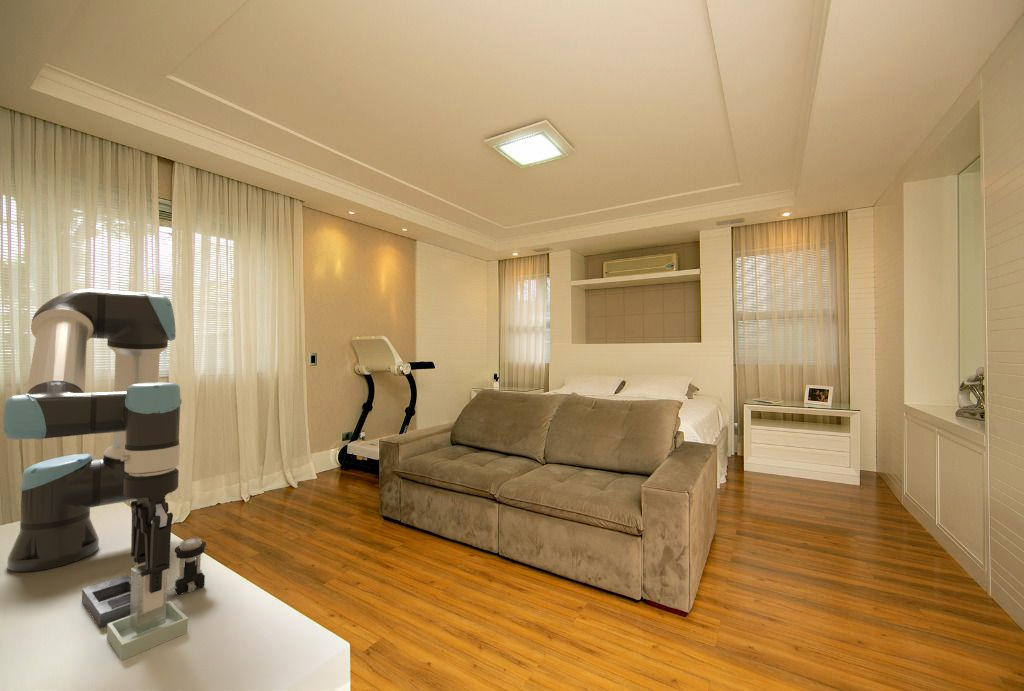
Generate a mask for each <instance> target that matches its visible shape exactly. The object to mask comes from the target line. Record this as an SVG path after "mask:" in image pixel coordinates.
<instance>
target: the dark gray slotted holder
mask: <svg viewBox="0 0 1024 691" xmlns="http://www.w3.org/2000/svg"><path fill="white" fill-rule="evenodd" d="M81 589H82V590H81V603H82V604H83V603H84V604H83V605H84V607H85V606H86V607H85V608H86V610H87V609H88V610H89V611H88V610H87V611H88V613H89V612H90V613H91V614H90V613H89V614H90V616H91V615H92V616H93V617H92V616H91V617H92V619H93V618H94V619H93V620H94V621H96V622H95V623H96V625H97V626H98V627H99V629H102V628H105V627H107V624H108V623H111V622H114V621H116V620H119V619H122V618H124V617H127V616H130V598H131V575H129V574H125V575H122V576H119V577H115V578H112V579H110V580H107V581H106V580H105V581H102V582H100V583H96V584H93V585H90V586H86V587H84V588H81Z"/></svg>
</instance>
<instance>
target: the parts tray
mask: <svg viewBox="0 0 1024 691" xmlns="http://www.w3.org/2000/svg"><path fill="white" fill-rule="evenodd" d="M188 624H189V617H188V616H186V615H185V614H184V612H182V611H181V610H180V608H178V606H176V605H175V604H174V603H173V602H172V601H171V600H168V601H166V623H165V624H162V625H160V626H157V627H155V628H152V629H150V630H147V631H145V632H142V633H140V634H136V633H135V632H134V631H133V629H132V628H131V627H130V616H127V617H124V618H122V619H119V620H116V621H114V622H111V623H108V624H107V626H106V640H107V641H108V642H109V644H110V645H111V647H112V648H113V650H114V652H115V653H116V654H117V655H118V657H119V659H120V660H121V661H124V660H126V659H128V658H131V657H133V656H135V655H138V654H140V653H142V652H145V651H147V650H149V649H151V648H154V647H156V646H159V645H161V644H163V643H166V642H168V641H171V640H172V639H176V638H177V637H180V636H182V635H185V634H186V633H189V632H188V630H189V629H188V628H189V625H188Z"/></svg>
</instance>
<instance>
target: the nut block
mask: <svg viewBox="0 0 1024 691" xmlns="http://www.w3.org/2000/svg"><path fill="white" fill-rule="evenodd" d="M130 570H131V571H130V577H131V598H130V627H131V628H132V629H133V631H134V632H135V633H136V634H140V633H142V632H145V631H147V630H150V629H152V628H155V627H157V626H160V625H162V624H165V623H166V602H167V596H166V594H167V591H166V590H167V589H168V588H167V587H168V584H167V582H168V581H167V580H168V569H166V570H164V599H163V606H162V607H159V608H156V609H154V610H151V611H148V612H146V613H143V612H142V611H143V577H141V572H144V571H146V564H144V565H141V566H137V567H135V566H134V567H131V568H130Z"/></svg>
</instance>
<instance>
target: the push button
mask: <svg viewBox="0 0 1024 691" xmlns="http://www.w3.org/2000/svg"><path fill="white" fill-rule="evenodd" d="M206 546H207V542H205V541H203V540H202V539H201V538H200V537H192V538H187V539H184V540H182V541H181V542H180V543H179V545H177V546H176V547H175V548H174V553H175V555H176V558H177V559H179V568H178V569H179V571H178V576H177V578H175V579H174V580H175V581H174V586H172V587H169V588H167V590H166V597H167V596H170V595H174V594H176V595H177V596H180V595H183V594H186V593H191V592H194V591H195V590H199V589H202V588H204V587H205V579H206V577H205V576H206V575H205V574H204V573H203V571H202V568H201V560H202V557H201V556H202V554H203V553H205V548H206ZM171 590H173V591H171ZM168 591H170V592H168ZM167 592H168V593H167ZM182 593H183V594H182Z"/></svg>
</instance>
